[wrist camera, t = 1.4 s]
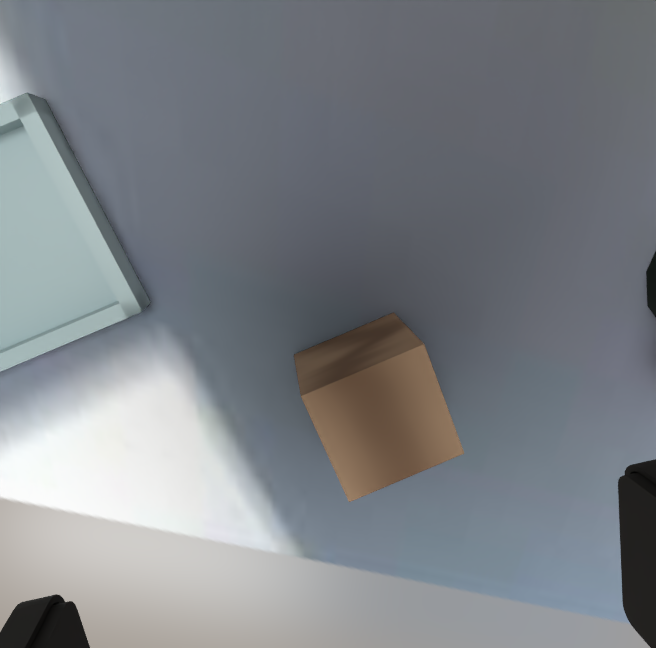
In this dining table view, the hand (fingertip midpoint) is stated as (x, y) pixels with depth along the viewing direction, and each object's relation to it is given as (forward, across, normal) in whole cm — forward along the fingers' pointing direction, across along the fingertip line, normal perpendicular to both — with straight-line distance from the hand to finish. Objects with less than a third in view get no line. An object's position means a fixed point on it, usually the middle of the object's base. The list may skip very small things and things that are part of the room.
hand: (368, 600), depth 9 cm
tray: (+21, +13, -6) cm, 26 cm away
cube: (+21, -3, +4) cm, 22 cm away
